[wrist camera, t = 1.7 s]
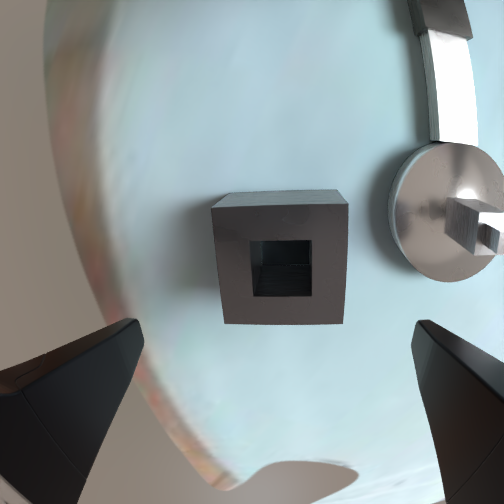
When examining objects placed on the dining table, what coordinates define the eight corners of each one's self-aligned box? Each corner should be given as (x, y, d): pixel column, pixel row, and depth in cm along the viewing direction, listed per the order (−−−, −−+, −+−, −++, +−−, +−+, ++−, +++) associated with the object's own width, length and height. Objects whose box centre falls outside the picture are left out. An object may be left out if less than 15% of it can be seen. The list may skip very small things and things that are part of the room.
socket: (336, 189, 16) (348, 203, 13) (335, 288, 18) (342, 323, 15) (229, 193, 17) (210, 207, 14) (238, 289, 19) (224, 323, 16)
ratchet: (472, -10, 10) (520, -44, 4) (486, 268, 16) (538, 315, 10) (363, -34, 11) (384, -93, 5) (383, 272, 18) (416, 332, 12)
